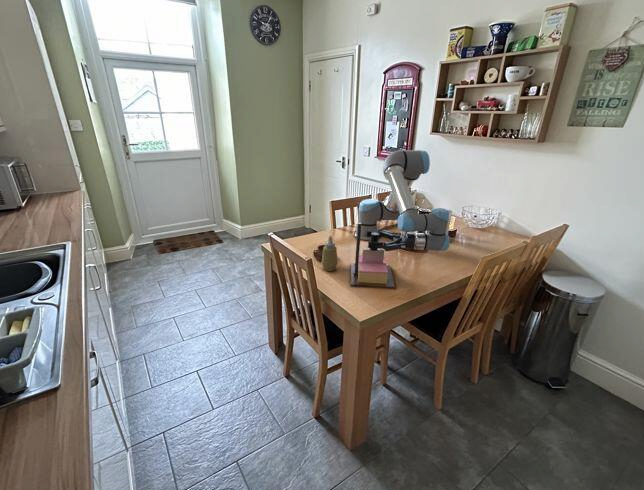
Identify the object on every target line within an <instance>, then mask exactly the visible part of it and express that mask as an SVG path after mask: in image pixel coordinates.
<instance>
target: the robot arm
mask: <svg viewBox="0 0 644 490" xmlns="http://www.w3.org/2000/svg"><path fill="white" fill-rule="evenodd" d="M430 165H431V161H430V155H429V153H428V152H427V151H426V150H421V149H413V150H412V149H411V150H410V149H408V150H402V149H400V150H398V149H397V150H394V151H392V152H391V153H389V154H388V155H387V156H386V158H385V159H384V162H383V165H382V173H383V176H384V178H385V180H387V181H388V184H389V186H390V187H389V188H390V189H391V191H390V193H389V195H388V196H386V197H385V198H384V200H383V201H379V200H378V199H377V198H367V199H366V198H365V199H363V200H362V201H360V203H359V207H358V222H357V224H358V223H361V235H360V241H368V244H367V249H370V248H378V250H384V252H390V251H391V252H392V251H398V250H418V251H433V252H435V251H436V252H445V251H448V250H449V249H450V246H451V238H450V236H449V234H448V235H446V228H447V224H448V220H449V211H448V210H449V209H446V208H444V207H443V208H442V207H435V208H432V209H431V211H430V212H429V213H430V214H428V213H419V212H418V209H417V206H416V205H415V202H414V200H413V196H412V194H411V191H410V189H411V187H412V185H413V184H414V182H415V181H417V180H419V178H420V176H421V175H425V174H427V173H428V172H429V170H430ZM378 221H397V223H394V224H391V225H387V226H384V227H382V228H381V229H378ZM395 226H397V228H398V230H399V231H400V232H395V231H390V230H386V229H387V228H391V227H395ZM357 228H358V225H357V226H356V229H355V230H354V237H355V238H356V239H357ZM373 232H376V233H379V239H381V238H383V239H387V240H390V241H388V242H385V241H381V242H380V241H378V242H371V233H373ZM403 232H405V234H404V235H403V234H402V233H403ZM419 232H420V233H419ZM421 232H422V233H421ZM423 232H428V233H423Z"/></svg>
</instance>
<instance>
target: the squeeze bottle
mask: <svg viewBox="0 0 644 490" xmlns="http://www.w3.org/2000/svg"><path fill="white" fill-rule="evenodd" d="M324 245H325V246H324V248H323V255H322V260H321V265H322V267H323V270H324V271H326V272H334V271H335V270H336V268H337V265H338V251H337V249H338V248H337V246H336V242H334V241H333V236H332V235H329V236H328V239H327V241H325V244H324Z"/></svg>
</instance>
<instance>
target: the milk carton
mask: <svg viewBox="0 0 644 490" xmlns="http://www.w3.org/2000/svg"><path fill="white" fill-rule="evenodd" d="M447 210H448V211H449V220H448V224H447V228H446V235H448V236H449V230H450V225H451V219H452V213H453V210H451V209H447Z"/></svg>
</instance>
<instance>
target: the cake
mask: <svg viewBox="0 0 644 490" xmlns="http://www.w3.org/2000/svg"><path fill="white" fill-rule="evenodd" d="M362 257H363V254H362V255H361V254H359V263H358V281H359V282H363V283H381V284H387V277H388V270H387V266H386V265H387V261H386V258H385V257H386V256H384V260H383V263H364V262H362Z"/></svg>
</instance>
